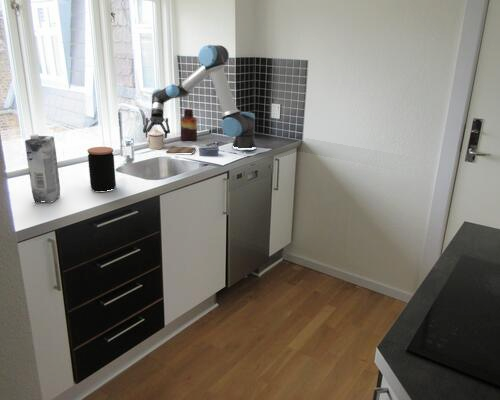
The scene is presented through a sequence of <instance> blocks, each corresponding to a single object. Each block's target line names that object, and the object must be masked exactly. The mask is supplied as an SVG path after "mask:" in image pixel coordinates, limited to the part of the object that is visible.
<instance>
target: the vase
mask: <svg viewBox="0 0 500 400" xmlns="http://www.w3.org/2000/svg"><path fill="white" fill-rule="evenodd" d="M183 111H184V112H183V116H182V117H180V141H181V142H185V141H194V142H197V141H196V140H198V128H197V127H198V120H197V117H194V112H193V111H194V110H193V109H191V108H190V109H189V108H186V109H184V110H183Z"/></svg>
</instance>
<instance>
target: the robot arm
mask: <svg viewBox="0 0 500 400" xmlns="http://www.w3.org/2000/svg"><path fill="white" fill-rule="evenodd" d="M229 58H230V56H229V51H228V49H227V48H226V47H225V46H223V45H219V44H218V45H214V44H208V45H204V46H202V47H201V49H200V50H199V52H198V62H199V64H200V66H199V67H198V68H196V69H195V70H194V71H193V72H192V73H191V74H190V75H188V76H187V77H186V78H185V79H184V80H183V81H181V82H180V83H179V84H178V85H177V84H173V83H172V84H170V85H167V86H166V87H164V88H163V89H161V88H158V89H154V90H152V95H151V114H150V118H149V117H145V122H146V125H145V124H144V126H143V128H142V132H143V134H145V138H146V142H147V144H149V133H150V131H151V130H152V129H153V127H154V126H155V125H156V126H160V127H161V129H162V130H163V134H164V135H163V142H164V144H166V139H167V138H168V134H171V130H170V126H169V118H168V117H166V118H164V108H165V107H164V106H165V103H167V102H169V101H170V100H173V99H178V98H185V97H188V96H189V94H190V92H191V91H192V90H194V89H195V88H196V87H197V86H199V84H200V83H202V82H203V81H204V80H205V79H206V78H208V77H209V76H210V78H211V79H210V80H211V82H212V84H213V87H214V90H215V93H216V97H217V99H218V102H219V103H218V104H219V106H220V108H221V111H222V116H221V119H222V122H221V130H222V132H223V134H224V135H226V136H228V137H230V138H234V139H233V143H232V147H233V146H234V147H238V148H252V147H256V148H257V143H256V139H255V127H256V126H255V123H256V121H255V120H256V116H255V113H253V112H248V111H241V110H240V109H238V108H237V105H236V103H235V100H234V96H233V93H232V91H231V90H232V89H231V87H230V84H229V82H228V81H229V80H228V79H227V75H226V73H225V67H226V64H227V63H228V61H229ZM164 123H165V125H166V126H165V125H164Z"/></svg>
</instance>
